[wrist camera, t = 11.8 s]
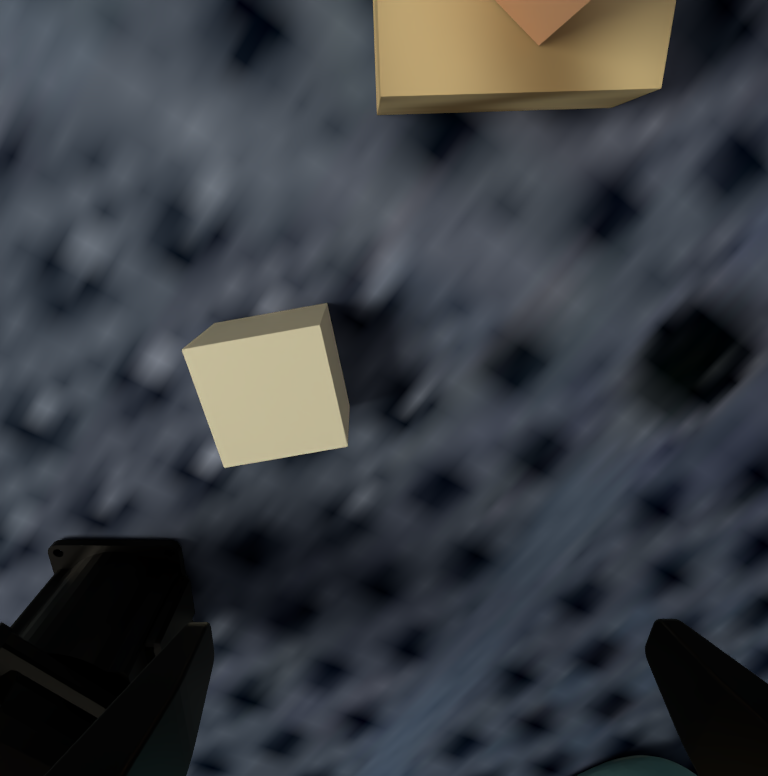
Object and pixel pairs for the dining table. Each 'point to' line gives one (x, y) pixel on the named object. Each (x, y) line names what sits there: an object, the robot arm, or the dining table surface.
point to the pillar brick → (541, 15)
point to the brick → (271, 385)
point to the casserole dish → (638, 767)
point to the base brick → (515, 56)
